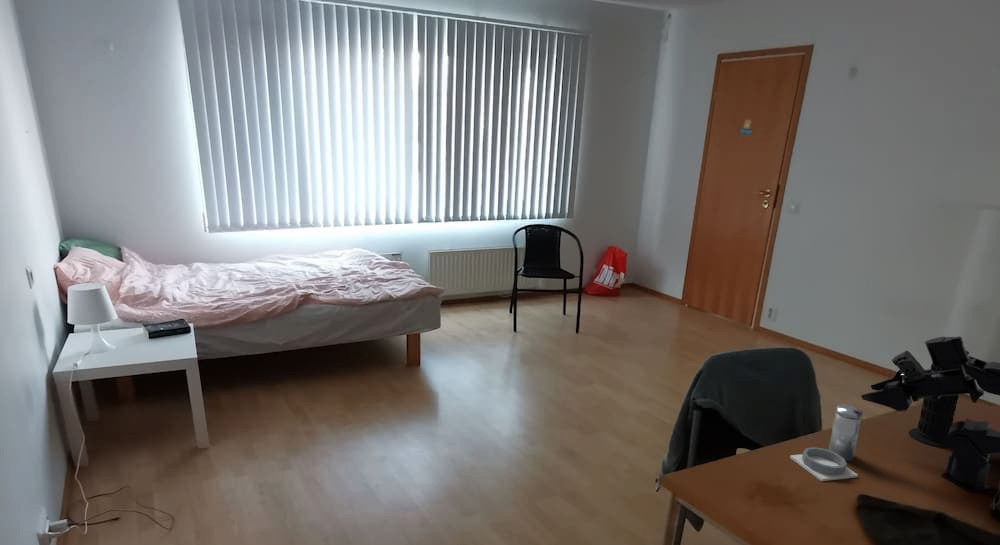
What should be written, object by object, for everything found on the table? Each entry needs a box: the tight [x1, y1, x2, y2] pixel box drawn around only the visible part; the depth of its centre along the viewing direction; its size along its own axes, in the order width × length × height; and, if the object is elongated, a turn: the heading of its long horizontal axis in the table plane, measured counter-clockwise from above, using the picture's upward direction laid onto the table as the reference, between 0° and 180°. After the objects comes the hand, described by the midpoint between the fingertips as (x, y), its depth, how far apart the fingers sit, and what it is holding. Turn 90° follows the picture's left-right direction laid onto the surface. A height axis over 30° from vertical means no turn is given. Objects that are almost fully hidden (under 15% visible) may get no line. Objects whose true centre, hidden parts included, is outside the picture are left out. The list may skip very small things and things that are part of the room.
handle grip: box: [908, 349, 970, 450], centre depth 144 cm, size 10×26×10 cm
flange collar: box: [789, 446, 859, 482], centre depth 131 cm, size 10×10×3 cm
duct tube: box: [828, 403, 863, 462], centre depth 136 cm, size 6×6×12 cm
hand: (866, 392), depth 139 cm, fingers open, 9 cm apart
